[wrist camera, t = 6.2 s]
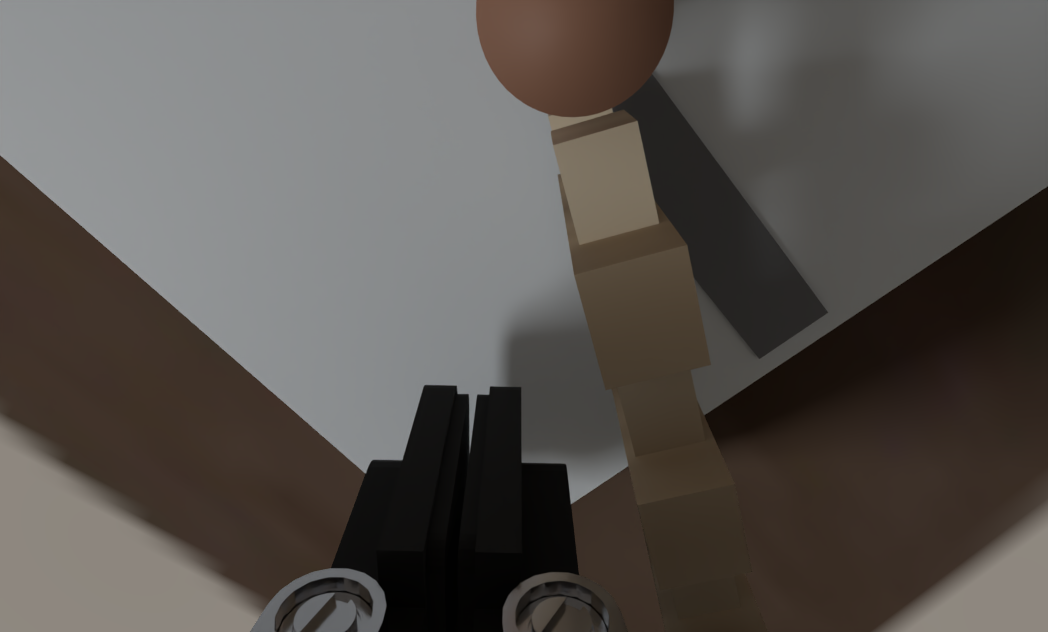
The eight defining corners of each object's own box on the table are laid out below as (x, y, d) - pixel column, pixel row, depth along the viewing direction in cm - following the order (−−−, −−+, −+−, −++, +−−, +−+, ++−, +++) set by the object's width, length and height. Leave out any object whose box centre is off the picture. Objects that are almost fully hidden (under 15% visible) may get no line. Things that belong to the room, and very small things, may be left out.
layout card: (842, -1421, 6) (864, -1522, 5) (1330, -17, 10) (1361, -19, 9) (-136, 20, 10) (-161, 20, 10) (475, 558, 14) (473, 572, 14)
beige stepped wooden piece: (493, -12, 9) (449, -62, 4) (589, -43, 9) (652, -132, 4) (632, 492, 13) (691, 770, 8) (703, 476, 12) (809, 751, 8)
